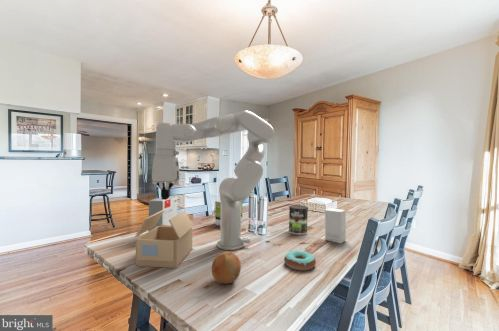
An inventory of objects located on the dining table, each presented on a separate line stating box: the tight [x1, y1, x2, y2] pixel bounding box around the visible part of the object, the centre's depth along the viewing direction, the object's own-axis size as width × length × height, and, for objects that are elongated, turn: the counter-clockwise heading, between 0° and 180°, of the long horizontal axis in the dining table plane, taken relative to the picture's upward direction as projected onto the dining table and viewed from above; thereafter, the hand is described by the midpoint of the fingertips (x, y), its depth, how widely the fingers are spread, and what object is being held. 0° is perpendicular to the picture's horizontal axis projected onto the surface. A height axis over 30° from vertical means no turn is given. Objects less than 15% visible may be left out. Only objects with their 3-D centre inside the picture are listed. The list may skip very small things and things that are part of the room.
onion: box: [211, 250, 242, 285], centre depth 81 cm, size 10×10×10 cm
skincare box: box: [324, 207, 347, 244], centre depth 123 cm, size 8×7×16 cm
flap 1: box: [134, 210, 164, 238], centre depth 100 cm, size 1×16×8 cm, turn 176°
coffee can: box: [288, 204, 309, 236], centre depth 136 cm, size 10×10×14 cm
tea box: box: [214, 199, 243, 227], centre depth 151 cm, size 15×10×15 cm, turn 144°
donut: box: [283, 250, 317, 271], centre depth 95 cm, size 12×12×4 cm
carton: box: [135, 225, 193, 269], centre depth 100 cm, size 16×20×10 cm
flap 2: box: [169, 210, 194, 239], centre depth 99 cm, size 1×16×8 cm, turn 175°
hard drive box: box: [147, 195, 179, 232], centre depth 125 cm, size 16×8×20 cm, turn 168°
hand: (165, 198), depth 99 cm, fingers closed
